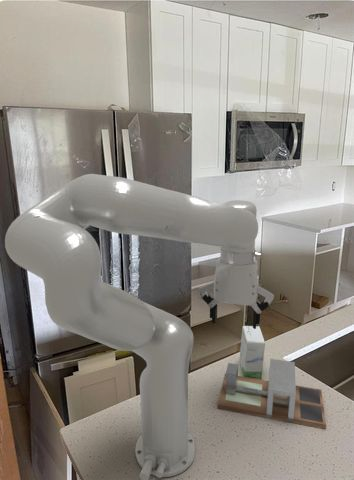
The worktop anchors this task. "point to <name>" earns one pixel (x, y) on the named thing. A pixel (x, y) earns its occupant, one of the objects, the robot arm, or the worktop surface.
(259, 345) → the ink box
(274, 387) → the tunnel
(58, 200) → the robot arm
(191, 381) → the worktop surface
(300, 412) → the board
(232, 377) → the grey dumbbell
